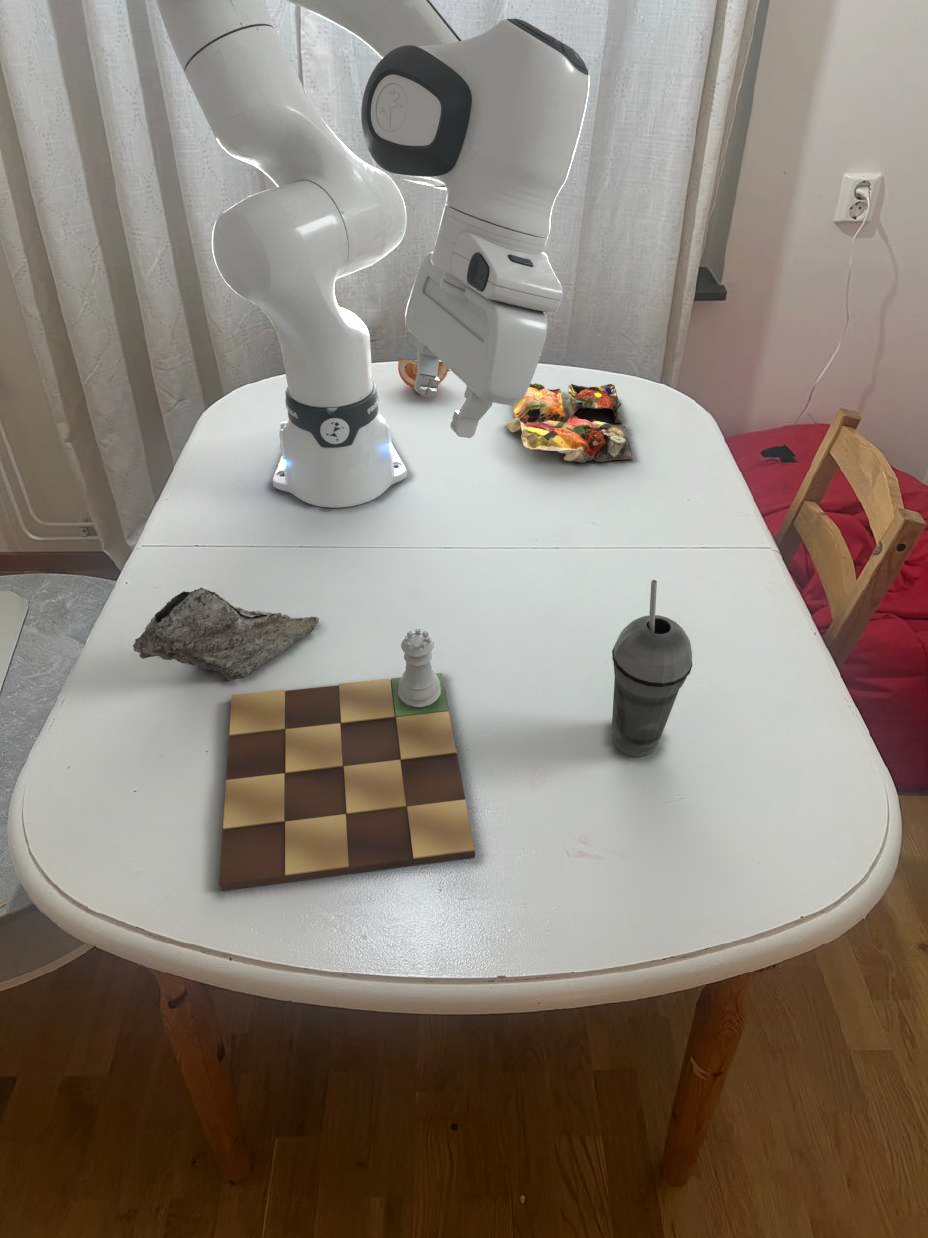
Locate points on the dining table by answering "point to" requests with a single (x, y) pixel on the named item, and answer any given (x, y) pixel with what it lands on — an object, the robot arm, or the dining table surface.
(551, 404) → the food
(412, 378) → the fruit slice
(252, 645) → the concrete fragment
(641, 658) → the beverage cup
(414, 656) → the rook chess piece
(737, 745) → the dining table surface
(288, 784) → the board
